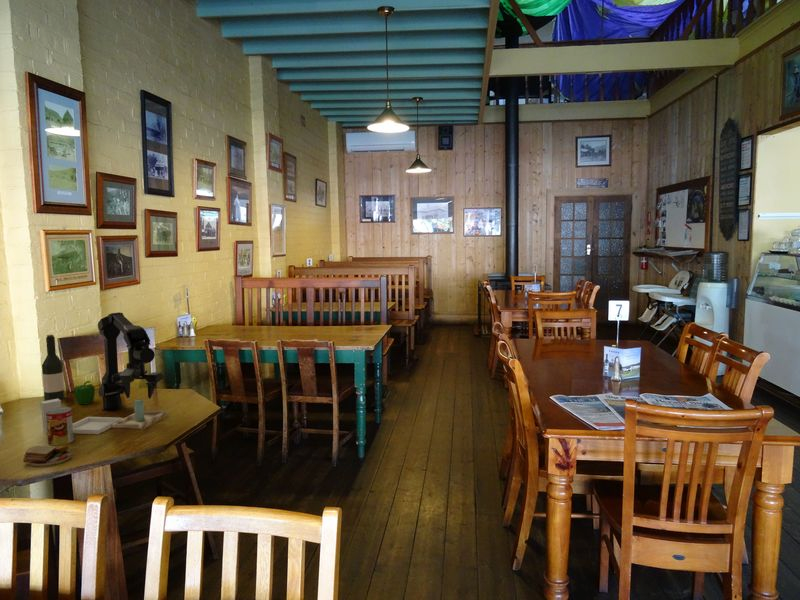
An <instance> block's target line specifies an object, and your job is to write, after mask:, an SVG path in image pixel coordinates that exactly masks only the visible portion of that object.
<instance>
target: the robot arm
mask: <svg viewBox="0 0 800 600" xmlns="http://www.w3.org/2000/svg"><path fill="white" fill-rule="evenodd" d="M97 329H98V330H99V331H98V333H99V334H100V337H102V338H103V342H104V343H103V344H104V345H103V346H104V347H103V348H104V360H105V361H104V363H105V372H104V375H103V377H102V378H101V384H100V386H99V389H98V396H99V397H101V398H102V404H103V405H102V406H103V407H102V408H101V409H100V410H101V411H112V412H113V411H118V410H120V409H121V408H123V407H124V405H123V404H122V403H123V401H122V396H121V395H122V394H123V395H125V397H126V399H129V398H130V397H131V383H133V382H134V381H135V380H146V383H145V385H146V386H147V398H148V399H151V398H152V396H153V394H154V391H155V388H156V387H157V385H158V383H159V382H161V381H162V380H164V374H163V373H162V372H158V371H157V372H154V371H152V372H150V373H148V370H146V364H148V363H151V362H153V361H154V359H155V356H156V355H155V354H156V353H155V351H154V350H153V349H152V348H150V346H151V338H150V337H149V335H148V333H147V331H146V330H145V328H144V327H142V326H141V325H135V324H133V323H132V322H131V321H130V320H129V319H127V317H125V315H124V313H123V312H110V313H108V315H107V316H105V317H102V318H100V320H99V321H98V322H97ZM121 333H122V334H123V341H125V343H126V348H127V355H128V356H127V358H128V363H126V368H125V369H123V370H122V371H119V363H118V361H119V359H118V343H117V341H118V337H119V336H120V334H121Z"/></svg>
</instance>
